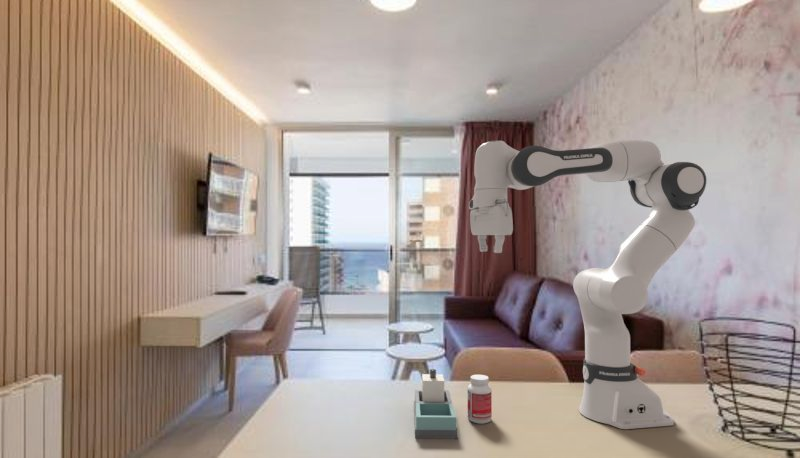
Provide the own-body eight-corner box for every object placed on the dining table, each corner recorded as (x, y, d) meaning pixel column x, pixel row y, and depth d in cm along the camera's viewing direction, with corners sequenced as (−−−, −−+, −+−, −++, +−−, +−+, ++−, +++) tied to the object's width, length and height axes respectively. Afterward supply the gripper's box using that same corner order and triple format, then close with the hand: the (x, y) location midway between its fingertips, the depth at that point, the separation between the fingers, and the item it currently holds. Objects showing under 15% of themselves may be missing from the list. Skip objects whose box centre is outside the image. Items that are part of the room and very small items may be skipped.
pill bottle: (496, 421, 115) (496, 378, 115) (479, 426, 112) (479, 382, 112) (479, 413, 120) (479, 371, 120) (462, 418, 117) (462, 375, 117)
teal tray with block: (449, 408, 123) (449, 365, 123) (457, 438, 105) (457, 387, 105) (413, 408, 123) (413, 364, 123) (415, 438, 105) (415, 387, 105)
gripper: (519, 198, 111) (519, 253, 110) (486, 204, 131) (486, 250, 131) (495, 197, 109) (495, 253, 109) (466, 203, 129) (466, 250, 129)
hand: (490, 252), depth 120 cm, fingers open, 8 cm apart
